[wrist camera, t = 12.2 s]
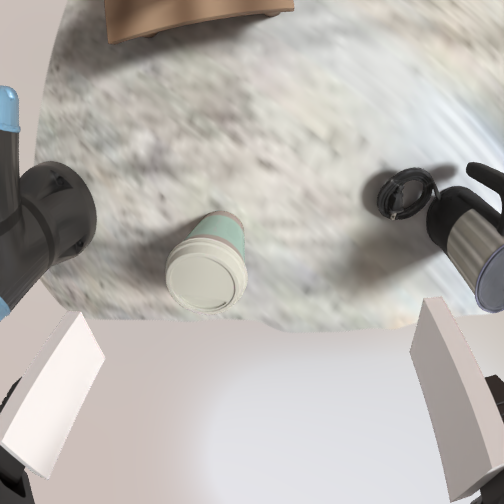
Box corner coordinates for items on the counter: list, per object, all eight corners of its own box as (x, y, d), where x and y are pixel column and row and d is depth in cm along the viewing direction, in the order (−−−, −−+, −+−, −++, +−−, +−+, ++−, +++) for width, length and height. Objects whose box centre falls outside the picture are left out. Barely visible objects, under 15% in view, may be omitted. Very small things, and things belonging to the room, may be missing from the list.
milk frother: (479, 238, 39) (532, 299, 26) (385, 267, 42) (418, 342, 29) (474, 144, 32) (546, 182, 19) (367, 170, 36) (411, 221, 23)
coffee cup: (177, 235, 42) (146, 288, 32) (213, 187, 39) (188, 230, 28) (229, 271, 45) (213, 331, 34) (268, 228, 41) (263, 283, 30)
